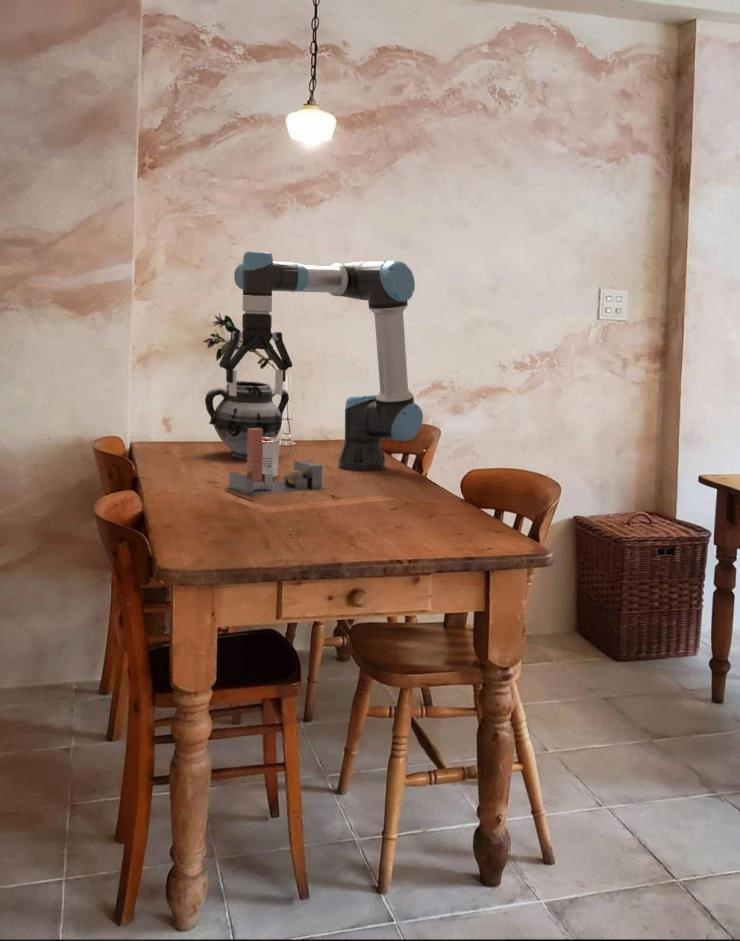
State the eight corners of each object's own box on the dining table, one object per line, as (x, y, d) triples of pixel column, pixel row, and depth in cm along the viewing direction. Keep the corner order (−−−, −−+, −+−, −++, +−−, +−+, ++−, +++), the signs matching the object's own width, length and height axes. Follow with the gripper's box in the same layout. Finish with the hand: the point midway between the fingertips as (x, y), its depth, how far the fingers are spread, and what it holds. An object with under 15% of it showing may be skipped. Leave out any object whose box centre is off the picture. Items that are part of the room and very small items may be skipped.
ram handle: (264, 485, 251) (265, 427, 249) (272, 488, 248) (273, 429, 245) (242, 487, 247) (242, 428, 245) (249, 490, 244) (250, 430, 241)
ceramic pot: (276, 450, 326) (277, 379, 322) (299, 460, 306) (301, 384, 302) (195, 453, 314) (196, 379, 310) (214, 464, 294) (215, 385, 289)
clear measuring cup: (273, 484, 264) (274, 442, 262) (245, 482, 265) (245, 440, 263) (283, 478, 273) (284, 437, 271) (256, 476, 275) (257, 436, 273)
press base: (302, 484, 264) (302, 458, 263) (328, 493, 253) (329, 466, 251) (225, 491, 250) (225, 464, 249) (249, 501, 239) (250, 472, 238)
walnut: (297, 483, 257) (298, 468, 256) (306, 486, 254) (306, 470, 253) (284, 484, 255) (284, 469, 254) (292, 487, 251) (292, 471, 250)
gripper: (291, 313, 249) (290, 392, 253) (206, 311, 235) (206, 394, 239) (306, 314, 243) (304, 395, 247) (219, 312, 229) (219, 397, 233)
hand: (256, 395), depth 243 cm, fingers open, 13 cm apart
